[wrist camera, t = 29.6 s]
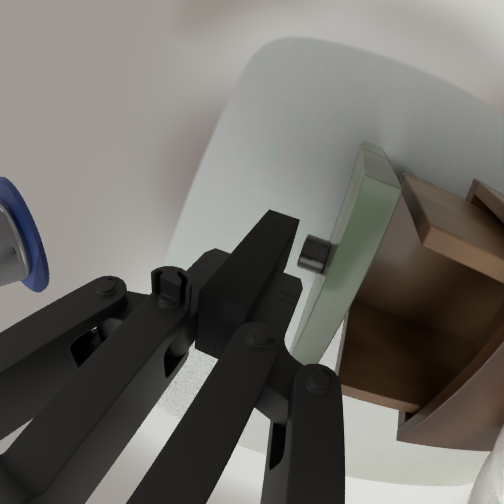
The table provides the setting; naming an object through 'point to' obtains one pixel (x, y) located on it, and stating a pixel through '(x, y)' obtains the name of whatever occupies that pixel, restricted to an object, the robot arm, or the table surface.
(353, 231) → the drawer
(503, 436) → the cat figurine
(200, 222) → the table surface
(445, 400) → the cabinet
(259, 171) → the table surface
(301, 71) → the table surface
